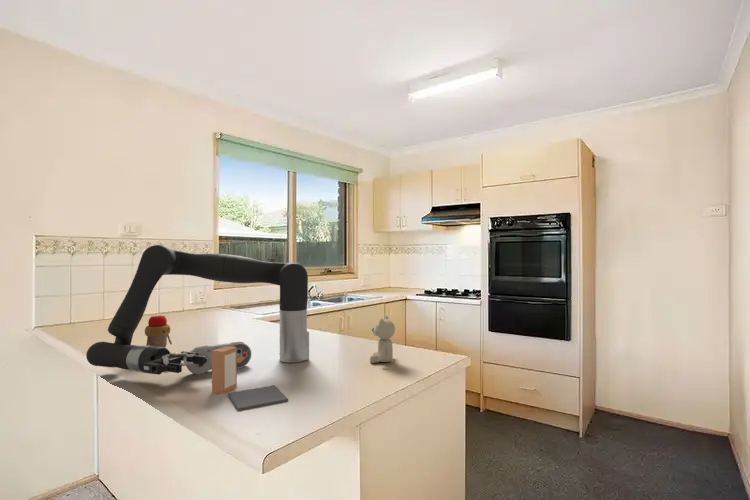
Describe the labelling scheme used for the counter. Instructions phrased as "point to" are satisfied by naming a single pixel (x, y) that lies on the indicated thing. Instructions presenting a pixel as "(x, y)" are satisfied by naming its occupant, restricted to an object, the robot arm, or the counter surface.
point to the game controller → (206, 351)
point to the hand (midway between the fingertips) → (193, 364)
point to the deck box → (224, 369)
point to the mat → (257, 397)
